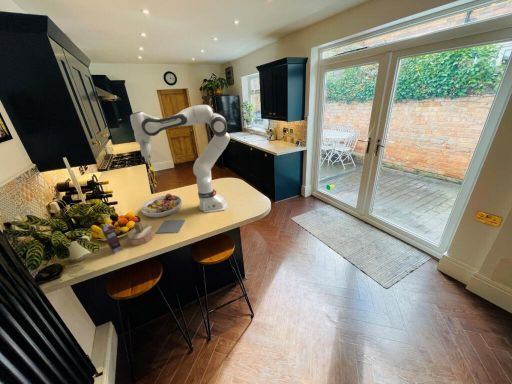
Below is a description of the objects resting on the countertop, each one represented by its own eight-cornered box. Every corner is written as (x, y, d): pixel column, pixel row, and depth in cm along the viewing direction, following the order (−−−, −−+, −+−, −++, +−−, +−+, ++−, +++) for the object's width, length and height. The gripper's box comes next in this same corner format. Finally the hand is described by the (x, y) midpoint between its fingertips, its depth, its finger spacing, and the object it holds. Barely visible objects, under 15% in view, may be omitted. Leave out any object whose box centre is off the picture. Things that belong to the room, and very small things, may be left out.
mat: (185, 220, 153) (185, 219, 153) (178, 232, 139) (177, 232, 139) (164, 220, 154) (164, 220, 153) (155, 233, 140) (155, 232, 140)
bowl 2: (174, 219, 155) (171, 210, 152) (134, 219, 158) (131, 210, 154) (188, 200, 182) (186, 191, 179) (154, 200, 185) (152, 192, 181)
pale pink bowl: (156, 225, 140) (153, 216, 138) (146, 239, 128) (142, 229, 125) (135, 226, 141) (132, 217, 138) (123, 239, 128) (119, 230, 125)
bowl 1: (158, 231, 142) (156, 226, 141) (147, 244, 130) (146, 239, 128) (137, 231, 143) (135, 226, 141) (125, 245, 130) (123, 240, 129)
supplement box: (109, 248, 129) (99, 226, 122) (118, 243, 132) (109, 222, 125) (114, 254, 123) (104, 231, 117) (123, 249, 127) (114, 227, 120)
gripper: (147, 141, 129) (152, 163, 135) (150, 135, 146) (154, 155, 152) (135, 142, 127) (141, 164, 133) (139, 136, 145) (145, 156, 150)
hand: (148, 159), depth 143 cm, fingers open, 8 cm apart
